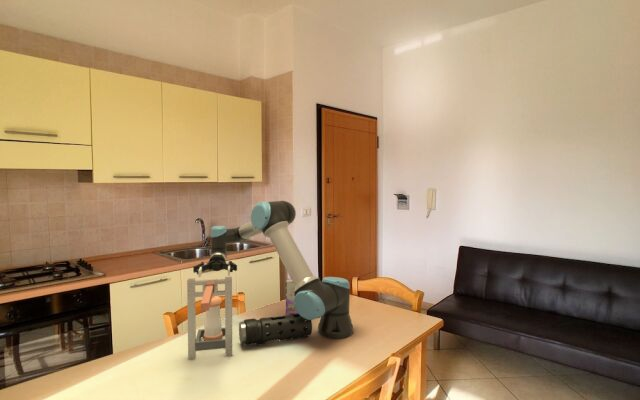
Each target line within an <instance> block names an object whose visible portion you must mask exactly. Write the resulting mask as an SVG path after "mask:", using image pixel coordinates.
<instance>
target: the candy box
mask: <svg viewBox="0 0 640 400" xmlns="http://www.w3.org/2000/svg"><path fill="white" fill-rule="evenodd" d="M294 290H295V285H294V283H293V281H292V279H291V278H290V277H289V278H288V279H287V280H286V281H285V315H292V314H298V312H297V311H296V309H295V306H294V303H295V302H294V298H295V296H296V295H295V293H294Z"/></svg>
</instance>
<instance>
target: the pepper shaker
mask: <svg viewBox="0 0 640 400" xmlns="http://www.w3.org/2000/svg"><path fill="white" fill-rule="evenodd" d="M222 303H223V300H222V298H221V296H212V300H211V304H210V308H209V311H205V317H204V319H205V320H204V325H203V326H204V328H203V329H204V331H205V333H204V337H203V341H207V340H219V339H223V336H222V331H221V328H223V327H222V324H223V323H222V319H221V317H222V316H221V304H222Z"/></svg>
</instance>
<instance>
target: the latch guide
mask: <svg viewBox="0 0 640 400" xmlns="http://www.w3.org/2000/svg"><path fill="white" fill-rule="evenodd" d="M186 284H187V285H186V288H187V290H186V291H187V292H186V293H187V297H186V298H187V300H186V301H187V302H186V303H187V360H188V361H190V360H191V361H192V360H196V358H197V350H196V337H197V333H196V332H197V331H196V328H197V327H196V325H197V324H196V322H197V321H196V318H197V317H196V298H203V295H204V292H205V288H206V285H214V291H213V295H212V296H219V297H222V296H224V302H225V303H224V311H225V312H224V317H225V318H224V320H225V321H224V322H225V324H224V325H225V327H224V328H225V336H224V337H225V338H224V339H225V348H224V349H225V357H233V276H225V277H224V278H222V279H220V278H219V279H218V280H208V279H201V280H199V279H198V280H196V278H194V277H193V278H188V279H187V280H186ZM217 284H218V285H224V290H218V291H217ZM196 286H202V291H196Z"/></svg>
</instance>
